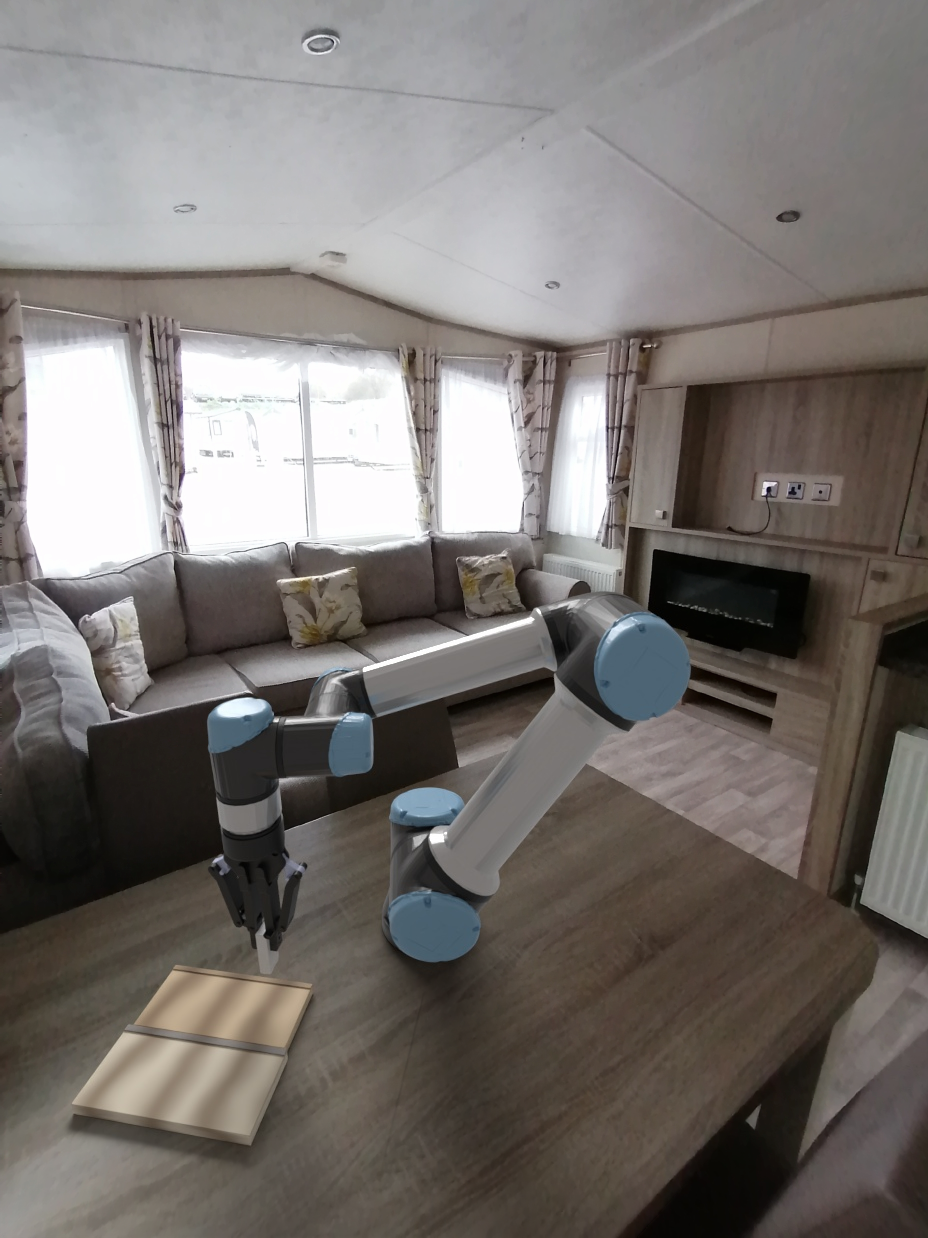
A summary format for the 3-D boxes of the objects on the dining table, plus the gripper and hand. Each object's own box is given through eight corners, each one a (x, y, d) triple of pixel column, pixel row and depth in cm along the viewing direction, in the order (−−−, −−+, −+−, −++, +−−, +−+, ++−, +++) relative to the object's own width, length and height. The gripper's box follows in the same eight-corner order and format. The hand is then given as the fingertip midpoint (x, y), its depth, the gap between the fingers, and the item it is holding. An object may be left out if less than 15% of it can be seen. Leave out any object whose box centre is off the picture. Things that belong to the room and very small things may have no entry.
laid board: (287, 1059, 78) (286, 1049, 77) (250, 1146, 68) (249, 1134, 68) (130, 1034, 81) (128, 1024, 80) (73, 1114, 71) (70, 1102, 71)
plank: (313, 992, 87) (312, 983, 87) (285, 1056, 78) (284, 1047, 78) (177, 973, 90) (175, 964, 89) (135, 1033, 81) (133, 1023, 80)
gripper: (312, 805, 80) (324, 949, 87) (219, 797, 82) (238, 939, 88) (288, 841, 73) (304, 995, 80) (187, 832, 75) (211, 983, 81)
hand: (269, 965), depth 84 cm, fingers closed
